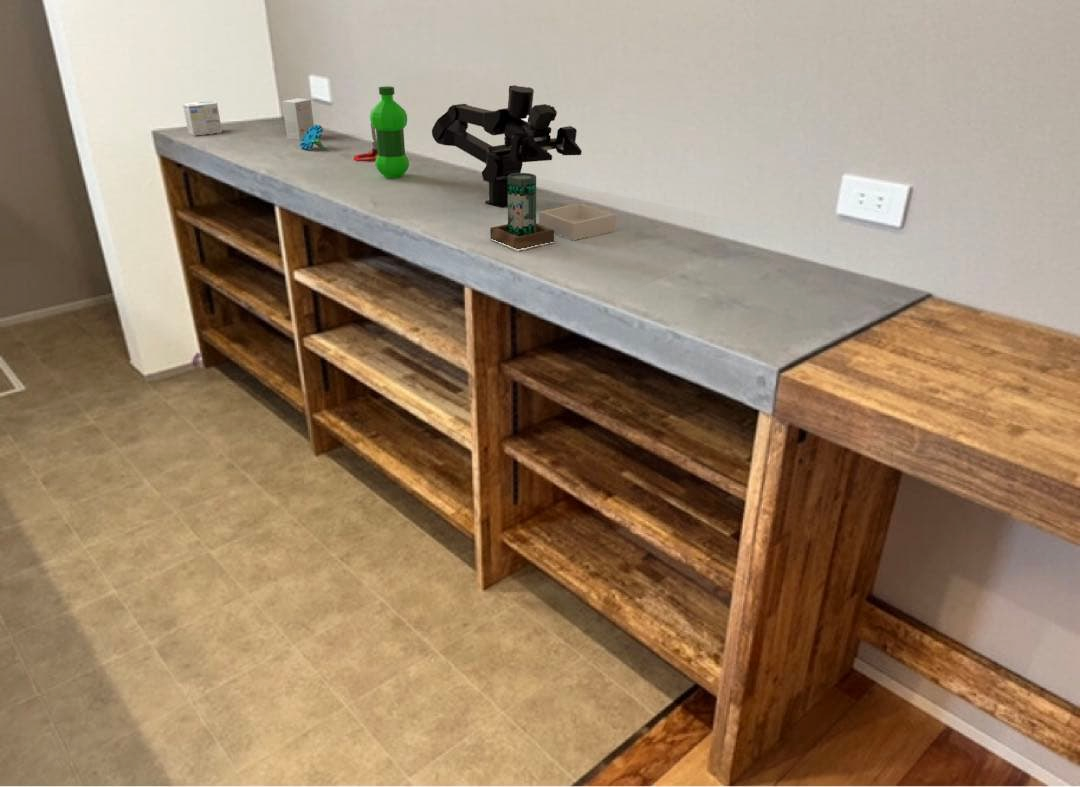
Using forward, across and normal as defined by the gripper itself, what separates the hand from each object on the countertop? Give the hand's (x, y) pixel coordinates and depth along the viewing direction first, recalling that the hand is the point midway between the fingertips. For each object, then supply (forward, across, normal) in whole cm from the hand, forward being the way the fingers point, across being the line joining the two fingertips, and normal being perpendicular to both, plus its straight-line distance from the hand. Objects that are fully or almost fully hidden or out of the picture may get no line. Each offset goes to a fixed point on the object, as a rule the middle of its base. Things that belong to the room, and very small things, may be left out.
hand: (566, 155), depth 195 cm
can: (+7, -17, +16) cm, 24 cm away
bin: (+8, -1, +16) cm, 17 cm away
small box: (-137, -2, +40) cm, 142 cm away
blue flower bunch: (-117, -7, +37) cm, 123 cm away
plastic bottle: (-66, -6, +28) cm, 72 cm away
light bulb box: (-166, -25, +45) cm, 174 cm away
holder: (+7, -17, +16) cm, 24 cm away
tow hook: (-92, 0, +32) cm, 98 cm away
